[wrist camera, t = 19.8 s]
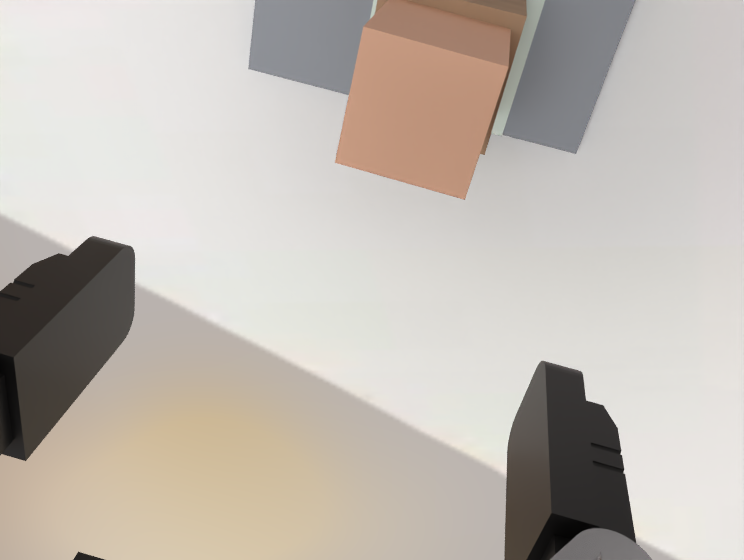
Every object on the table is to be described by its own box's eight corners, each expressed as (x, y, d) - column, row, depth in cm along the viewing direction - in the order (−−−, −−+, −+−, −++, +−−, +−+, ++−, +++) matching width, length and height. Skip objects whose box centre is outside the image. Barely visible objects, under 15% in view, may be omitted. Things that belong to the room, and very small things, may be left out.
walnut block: (402, -39, 33) (381, -20, 28) (526, -9, 33) (526, 16, 28) (377, 84, 36) (354, 121, 31) (489, 113, 36) (484, 154, 31)
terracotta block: (391, -4, 28) (363, 26, 23) (510, 29, 28) (508, 67, 23) (365, 112, 31) (334, 162, 26) (473, 143, 31) (464, 199, 26)
